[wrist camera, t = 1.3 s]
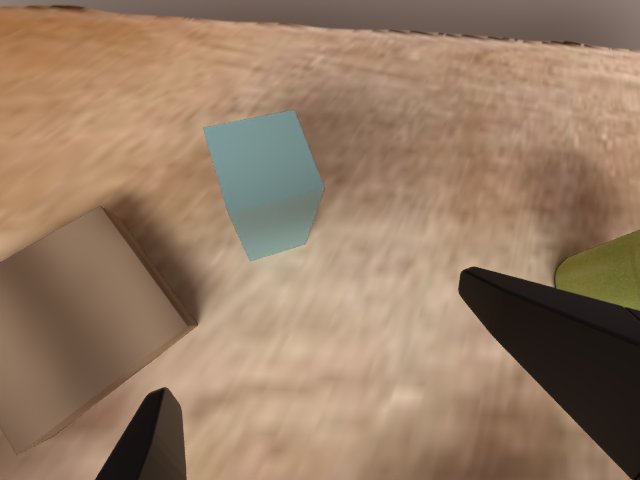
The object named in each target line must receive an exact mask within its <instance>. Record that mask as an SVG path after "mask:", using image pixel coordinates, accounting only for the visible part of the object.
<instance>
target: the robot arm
mask: <svg viewBox="0 0 640 480" xmlns="http://www.w3.org/2000/svg"><path fill="white" fill-rule="evenodd" d="M458 291H459V294H460V296H461V298H462V299H463V300H464V301H465V303H466V304H467V305H468V306H469V308H470V309H471V310H472V311H473V313H474V314H475V315H476V316H477V317H478V319H479V320H480V321H481V322H482V324H483V325H484V326H485V327H486V329H487V330H488V331H489V332H490V333H491V335H492V336H493V337H494V338H495V339H496V340H497V341H498V342H499V343H500V344H501V345H502V346H503V347H504V348H505V349H506V350H507V351H508V352H509V353H510V355H511V356H512V357H513V358H514V359H515V360H516V361H517V362H518V363H519V364H520V365H521V366H522V367H523V368H524V369H525V370H526V371H527V372H528V373H529V374H530V375H531V376H532V377H533V378H534V379H535V380H536V381H537V382H538V383H539V384H540V385H541V386H542V387H543V389H544V390H545V391H546V392H547V393H548V394H549V395H550V396H551V397H552V398H553V399H554V400H555V401H556V402H557V403H558V404H559V405H560V406H561V407H562V408H563V409H564V410H565V411H566V412H567V413H568V414H569V415H570V416H571V417H572V418H573V419H574V420H575V422H576V423H577V424H578V425H579V426H580V427H581V428H582V429H583V430H584V431H585V432H586V433H587V434H588V435H589V436H590V437H591V438H592V439H593V440H594V441H595V442H596V443H597V444H598V445H599V446H600V447H601V448H602V449H603V450H604V451H605V452H606V453H607V455H608V456H609V457H610V458H611V459H612V460H613V461H614V462H615V463H616V464H617V465H618V466H619V467H620V468H621V469H622V470H623V471H624V472H625V473H626V474H627V475H628V476H629V477H630V478H631V479H632V480H640V310H636V309H632V308H628V307H623V306H621V305H617V304H613V303H609V302H606V301H602V300H598V299H595V298H591V297H587V296H583V295H580V294H576V293H572V292H568V291H565V290H561V289H557V288H553V287H550V286H546V285H542V284H538V283H535V282H531V281H527V280H523V279H520V278H516V277H512V276H508V275H505V274H501V273H497V272H493V271H490V270H486V269H482V268H478V267H470V268H467V269H465V270H463V271H462V272H461V274H460V280H459V288H458ZM95 480H186V461H185V447H184V433H183V419H182V410H181V406H180V404H179V403H178V401H177V400H176V398H175V397H174V396H173V394H172V393H171V392H170V390H169V389H168V388H166V387H164V388H161V389H158V390H155V391H153V392H151V393H149V394H148V395H147V396H146V397H145V399H144V400H143V402H142V404H141V405H140V407H139V409H138V410H137V412H136V413H135V415H134V417H133V418H132V420H131V422H130V423H129V425H128V427H127V428H126V430H125V431H124V433H123V435H122V436H121V438H120V440H119V441H118V443H117V444H116V446H115V448H114V449H113V451H112V453H111V454H110V456H109V457H108V459H107V461H106V462H105V464H104V466H103V467H102V469H101V470H100V472H99V474H98V475H97V477H96V479H95Z"/></svg>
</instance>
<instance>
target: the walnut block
mask: <svg viewBox="0 0 640 480" xmlns="http://www.w3.org/2000/svg"><path fill="white" fill-rule="evenodd" d="M197 326H198V325H197V324H196V322H195V321H194V319H193V318H192V317H191V315H190V314H189V313H188V311H187V310H186V308H185V307H184V306H183V304H182V303H181V302H180V300H179V299H178V298H177V296H176V295H175V293H174V292H173V291H172V289H171V288H170V287H169V285H168V284H167V282H166V281H165V280H164V278H163V277H162V276H161V274H160V273H159V271H158V270H157V269H156V267H155V266H154V265H153V263H152V262H151V261H150V259H149V258H148V256H147V255H146V254H145V252H144V251H143V250H142V248H141V247H140V245H139V244H138V243H137V241H136V240H135V239H134V237H133V236H132V235H131V233H130V232H129V230H128V229H127V228H126V226H125V225H124V224H123V222H122V221H121V219H119V218H118V217H116V216H115V215H113V214H112V213H110V212H109V211H107V210H106V209H104V208H102V207H101V206H99V207H97V208H95V209H94V210H92V211H90V212H88V213H87V214H85V215H83V216H81V217H80V218H78V219H76V220H74V221H72V222H71V223H69V224H67V225H65V226H64V227H62V228H60V229H58V230H57V231H55V232H53V233H51V234H50V235H48V236H46V237H44V238H43V239H41V240H39V241H37V242H36V243H34V244H32V245H30V246H28V247H27V248H25V249H23V250H21V251H20V252H18V253H16V254H14V255H13V256H11V257H9V258H7V259H6V260H4V261H2V262H0V428H1V429H2V431H3V433H4V434H5V436H6V438H7V439H8V441H9V443H10V445H11V446H12V448H13V450H14V451H15V453H16V455H18V454H20V453H22V452H24V451H26V450H28V449H30V448H32V447H34V446H36V445H38V444H39V443H41V442H43V441H45V440H47V439H49V438H51V437H53V436H55V435H56V434H57V433H58V432H60V431H61V430H62V429H64V428H65V427H66V426H68V425H69V424H70V423H72V422H73V421H74V420H75V419H77V418H78V417H79V416H81V415H82V414H83V413H85V412H86V411H87V410H89V409H90V408H91V407H92V406H94V405H95V404H96V403H98V402H99V401H100V400H102V399H103V398H104V397H105V396H107V395H108V394H109V393H111V392H112V391H113V390H115V389H116V388H117V387H119V386H120V385H121V384H122V383H124V382H125V381H126V380H128V379H129V378H130V377H132V376H133V375H134V374H135V373H137V372H138V371H139V370H141V369H142V368H143V367H145V366H146V365H147V364H149V363H150V362H151V361H152V360H154V359H155V358H156V357H158V356H159V355H160V354H162V353H163V352H164V351H166V350H167V349H168V348H169V347H171V346H172V345H173V344H175V343H176V342H177V341H179V340H180V339H181V338H182V337H184V336H185V335H186V334H188V333H189V332H190V331H192V330H193V329H194V328H196V327H197Z"/></svg>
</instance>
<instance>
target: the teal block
mask: <svg viewBox="0 0 640 480" xmlns="http://www.w3.org/2000/svg"><path fill="white" fill-rule="evenodd" d="M203 130H204V134H205V137H206V140H207V144H208V147H209V150H210V154H211V157H212V161H213V164H214V167H215V171H216V174H217V177H218V181H219V184H220V187H221V191H222V194H223V198H224V201H225V204H226V208H227V211H228V214H229V216H230V219H231V221H232V223H233V225H234V227H235V230H236V232H237V234H238V236H239V238H240V241H241V243H242V245H243V247H244V249H245V251H246V254H247V256H248V258H249V260H250V261H253V260H256V259H260V258H263V257H266V256H269V255H272V254H276V253H279V252H282V251H285V250H289V249H292V248H295V247H298V246H301V245H305V244H306V241H307V238H308V235H309V232H310V229H311V226H312V224H313V221H314V218H315V215H316V212H317V209H318V206H319V203H320V200H321V197H322V194H323V192H324V189H325V188H324V185H323V183H322V180H321V177H320V175H319V172H318V170H317V167H316V164H315V162H314V159H313V157H312V154H311V152H310V149H309V146H308V144H307V141H306V139H305V136H304V134H303V131H302V128H301V126H300V123H299V121H298V118H297V115H296V113H295V110H290V111H285V112H280V113H275V114H270V115H265V116H260V117H255V118H250V119H245V120H240V121H235V122H230V123H224V124H219V125H214V126H209V127H204V128H203Z"/></svg>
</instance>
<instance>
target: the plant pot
mask: <svg viewBox="0 0 640 480" xmlns="http://www.w3.org/2000/svg"><path fill="white" fill-rule="evenodd" d="M555 284H556V288H557V289H561V290H565V291H568V292H572V293H576V294H580V295H583V296H587V297H591V298H595V299H598V300H602V301H606V302H609V303H613V304H617V305H621V306H623V307H628V308H632V309H636V310H640V230H637V231H635V232H632V233H630V234H627V235H625V236H622V237H620V238H617V239H614V240H612V241H609V242H607V243H604V244H602V245H599V246H597V247H594V248H592V249H589V250H586V251H583V252H581V253H578V254H576V255H573V256H571V257H568V258H567V259H566V260H565V261H564V262H563V263H562V264H561V265H560V266H559V267H558V269H557V271H556V276H555Z"/></svg>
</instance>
